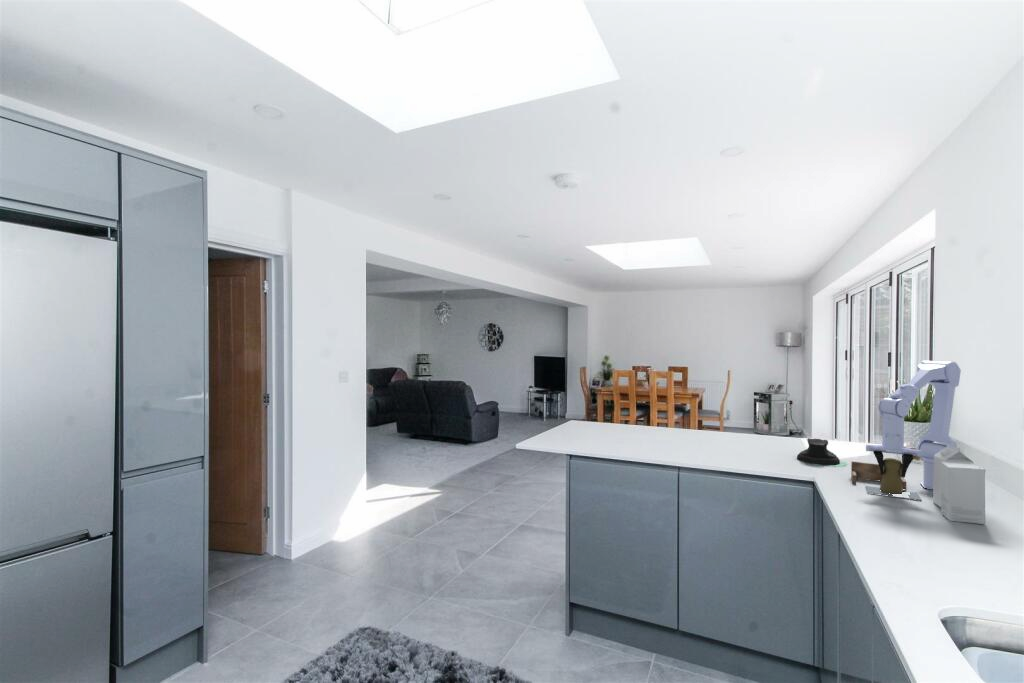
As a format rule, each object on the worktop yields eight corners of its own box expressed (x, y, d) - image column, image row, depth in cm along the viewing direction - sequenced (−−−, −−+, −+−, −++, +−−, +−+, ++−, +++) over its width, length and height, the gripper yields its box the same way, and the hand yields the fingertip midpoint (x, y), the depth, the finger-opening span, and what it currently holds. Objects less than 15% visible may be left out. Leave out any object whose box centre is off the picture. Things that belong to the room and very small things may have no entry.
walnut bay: (902, 483, 177) (902, 466, 177) (906, 490, 168) (906, 473, 168) (851, 477, 185) (851, 461, 185) (852, 483, 176) (853, 466, 176)
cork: (906, 494, 163) (908, 461, 162) (887, 494, 163) (889, 460, 163) (893, 488, 169) (895, 456, 168) (875, 488, 169) (877, 456, 169)
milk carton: (960, 505, 154) (961, 444, 154) (973, 512, 147) (974, 448, 147) (932, 502, 156) (933, 442, 156) (944, 510, 149) (944, 447, 149)
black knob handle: (782, 456, 220) (782, 435, 220) (825, 456, 220) (826, 435, 220) (810, 467, 200) (810, 444, 200) (858, 467, 200) (858, 444, 200)
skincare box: (976, 518, 143) (976, 464, 143) (986, 525, 137) (987, 469, 136) (939, 513, 146) (940, 460, 146) (948, 521, 140) (948, 466, 140)
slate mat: (917, 493, 165) (917, 492, 165) (921, 501, 157) (921, 499, 157) (865, 486, 172) (865, 485, 172) (867, 493, 165) (867, 492, 165)
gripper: (867, 433, 165) (866, 474, 165) (923, 438, 158) (922, 481, 158) (865, 430, 171) (864, 470, 171) (919, 435, 164) (918, 476, 164)
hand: (892, 475), depth 165 cm, fingers closed on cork, 5 cm apart
